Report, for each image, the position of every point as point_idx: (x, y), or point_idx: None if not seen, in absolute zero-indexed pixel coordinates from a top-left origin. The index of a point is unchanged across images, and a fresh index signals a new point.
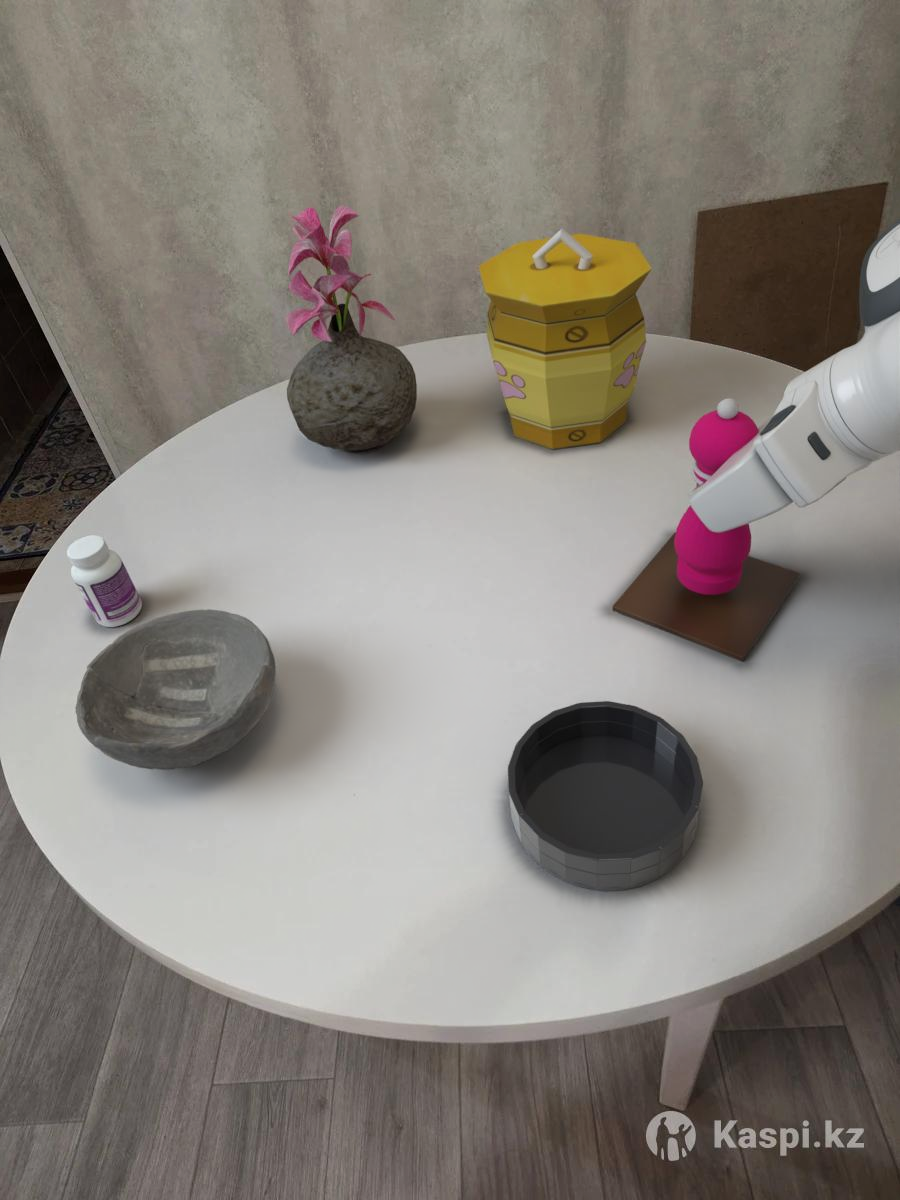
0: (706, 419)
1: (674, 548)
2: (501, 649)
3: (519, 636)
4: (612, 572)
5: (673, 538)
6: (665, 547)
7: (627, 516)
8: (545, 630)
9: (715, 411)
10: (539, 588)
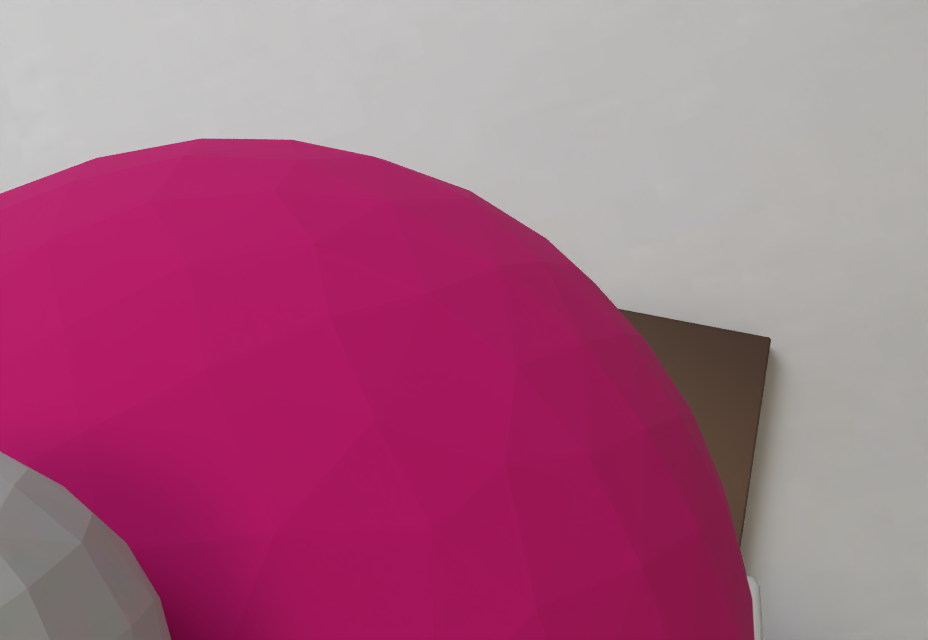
0: (13, 272)
1: (670, 360)
2: (81, 24)
3: (140, 48)
4: (493, 198)
5: (726, 342)
6: (664, 328)
7: (817, 148)
8: (180, 104)
9: (305, 376)
10: (351, 20)
